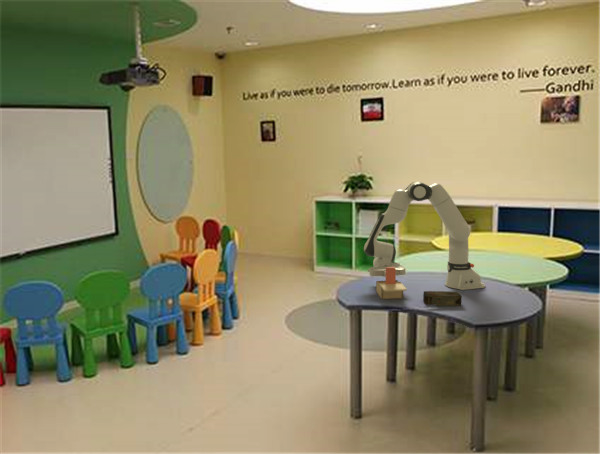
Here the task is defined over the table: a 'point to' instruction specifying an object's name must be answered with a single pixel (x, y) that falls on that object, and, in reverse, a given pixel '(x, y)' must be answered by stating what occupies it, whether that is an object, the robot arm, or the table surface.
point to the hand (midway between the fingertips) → (390, 275)
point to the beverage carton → (442, 298)
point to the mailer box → (387, 292)
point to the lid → (392, 281)
